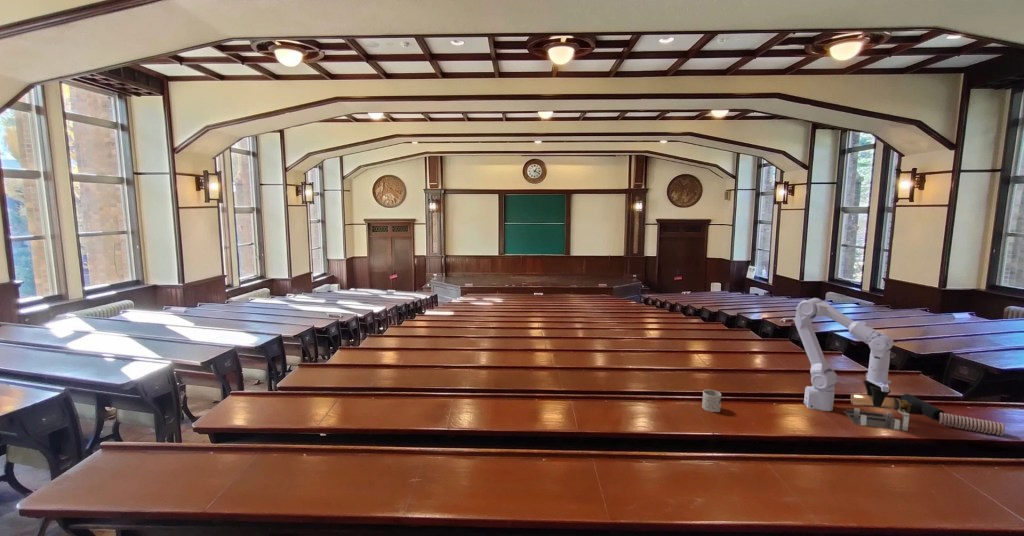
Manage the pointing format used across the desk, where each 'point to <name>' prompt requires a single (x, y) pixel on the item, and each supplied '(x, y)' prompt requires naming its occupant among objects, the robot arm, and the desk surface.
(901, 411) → the aperture bracket
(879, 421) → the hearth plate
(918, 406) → the pipe connector
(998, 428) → the coil
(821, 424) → the desk surface
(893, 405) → the tube
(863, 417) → the small blocks
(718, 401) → the mug
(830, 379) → the robot arm
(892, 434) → the desk surface
